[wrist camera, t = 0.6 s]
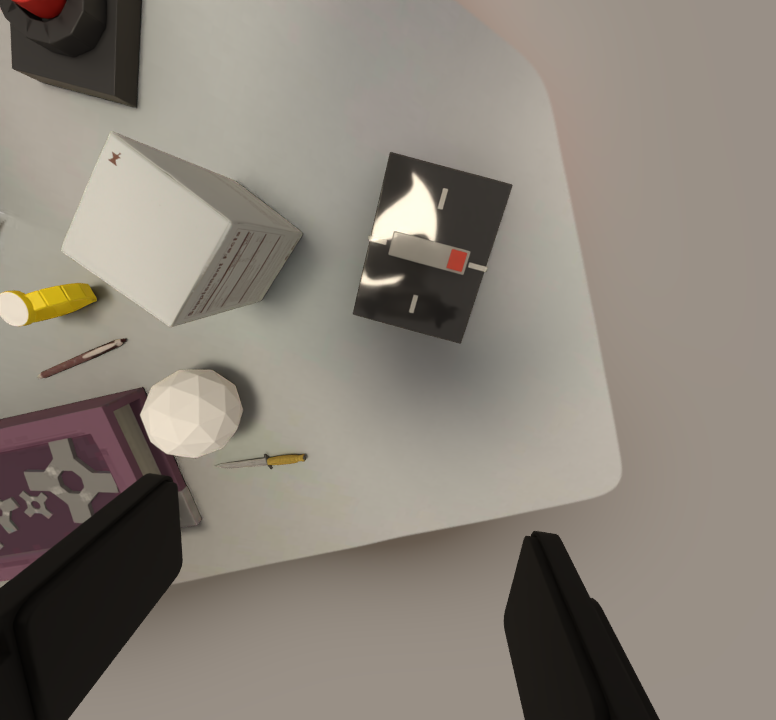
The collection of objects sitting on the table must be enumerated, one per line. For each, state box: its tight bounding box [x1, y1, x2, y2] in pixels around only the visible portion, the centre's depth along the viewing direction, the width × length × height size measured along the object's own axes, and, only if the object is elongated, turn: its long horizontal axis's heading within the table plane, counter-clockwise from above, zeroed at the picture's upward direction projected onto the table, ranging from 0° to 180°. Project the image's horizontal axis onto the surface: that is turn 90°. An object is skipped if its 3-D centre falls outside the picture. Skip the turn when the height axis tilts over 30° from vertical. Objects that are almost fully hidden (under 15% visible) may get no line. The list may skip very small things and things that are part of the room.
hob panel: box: [353, 152, 512, 344], centre depth 29 cm, size 12×9×3 cm
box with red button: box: [388, 231, 470, 275], centre depth 25 cm, size 5×2×5 cm, turn 75°
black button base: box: [0, 0, 141, 107], centre depth 26 cm, size 10×8×4 cm
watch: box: [0, 283, 97, 327], centre depth 31 cm, size 6×3×6 cm, turn 111°
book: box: [0, 387, 202, 581], centre depth 37 cm, size 25×16×5 cm, turn 104°
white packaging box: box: [61, 132, 303, 327], centre depth 25 cm, size 7×7×13 cm
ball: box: [140, 370, 243, 458], centre depth 32 cm, size 8×8×8 cm
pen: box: [37, 339, 126, 378], centre depth 35 cm, size 11×1×1 cm, turn 112°
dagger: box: [216, 454, 306, 469], centre depth 37 cm, size 11×1×2 cm
